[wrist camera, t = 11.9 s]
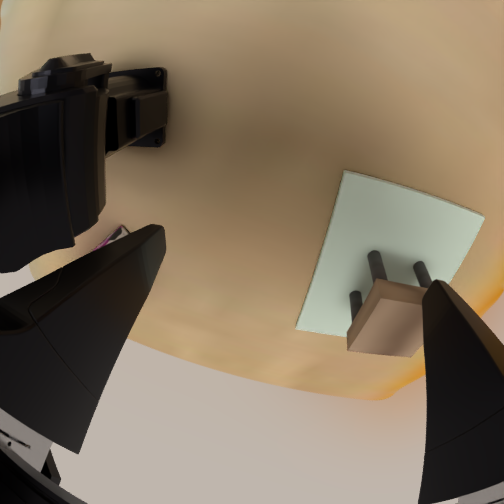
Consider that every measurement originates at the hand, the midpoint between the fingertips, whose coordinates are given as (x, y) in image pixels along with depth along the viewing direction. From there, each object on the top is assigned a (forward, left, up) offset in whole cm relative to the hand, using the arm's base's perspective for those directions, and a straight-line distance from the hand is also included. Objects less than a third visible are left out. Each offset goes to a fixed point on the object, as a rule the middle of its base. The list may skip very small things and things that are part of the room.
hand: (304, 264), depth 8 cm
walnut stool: (+10, -10, -12) cm, 19 cm away
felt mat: (+10, -10, -13) cm, 19 cm away
